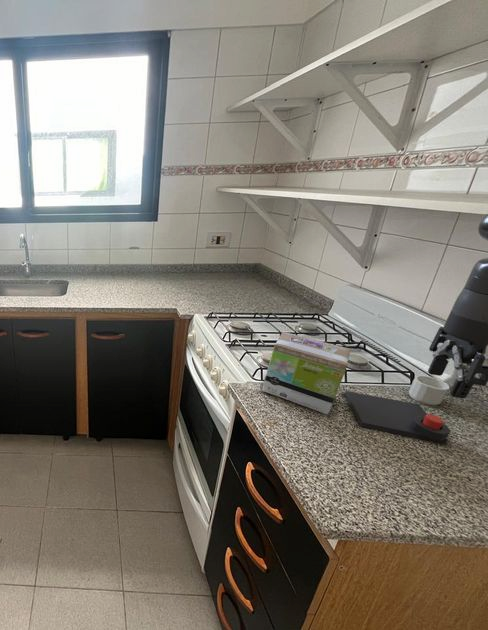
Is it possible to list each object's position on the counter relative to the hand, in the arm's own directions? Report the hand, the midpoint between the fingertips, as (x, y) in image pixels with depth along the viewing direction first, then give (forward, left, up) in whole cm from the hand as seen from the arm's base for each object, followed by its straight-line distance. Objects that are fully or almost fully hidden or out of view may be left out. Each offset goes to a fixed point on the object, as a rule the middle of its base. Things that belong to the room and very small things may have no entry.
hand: (444, 384), depth 72 cm
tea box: (+23, -7, -14) cm, 27 cm away
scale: (+4, -5, -13) cm, 15 cm away
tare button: (-1, 0, -11) cm, 11 cm away
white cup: (-7, -17, -13) cm, 23 cm away
